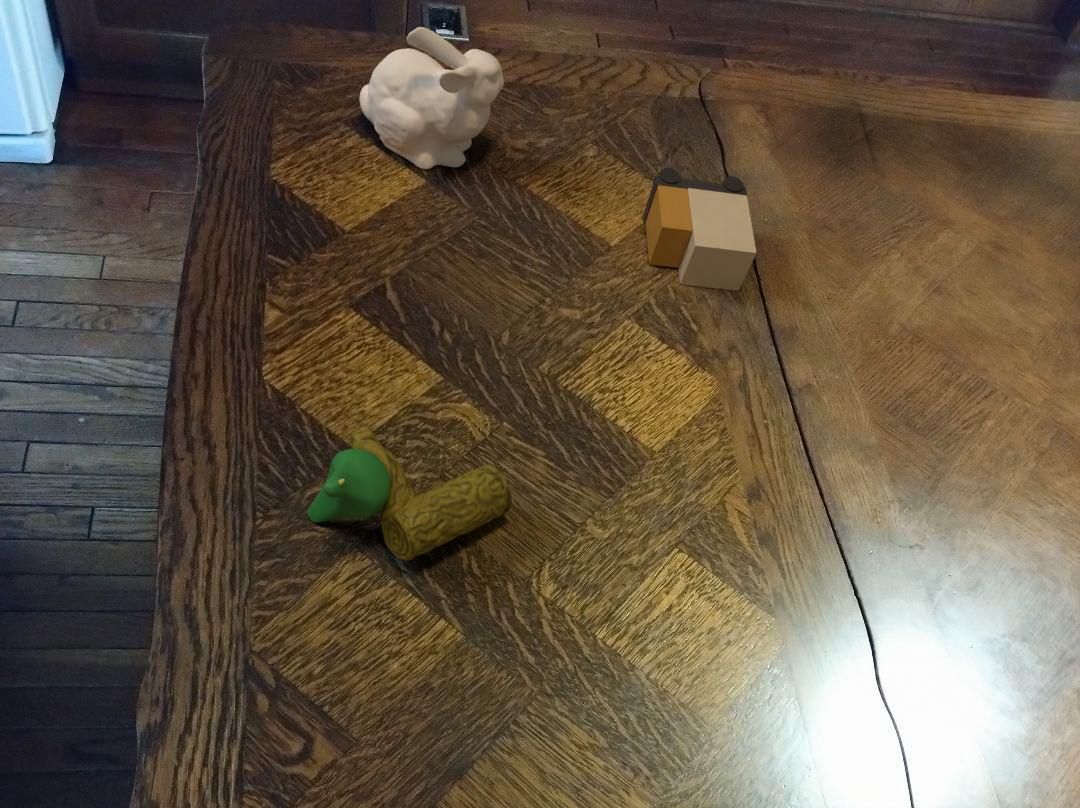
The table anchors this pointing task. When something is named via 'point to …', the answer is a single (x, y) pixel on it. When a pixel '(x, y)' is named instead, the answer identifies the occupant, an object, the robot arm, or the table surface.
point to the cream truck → (700, 230)
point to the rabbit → (431, 99)
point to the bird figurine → (407, 498)
